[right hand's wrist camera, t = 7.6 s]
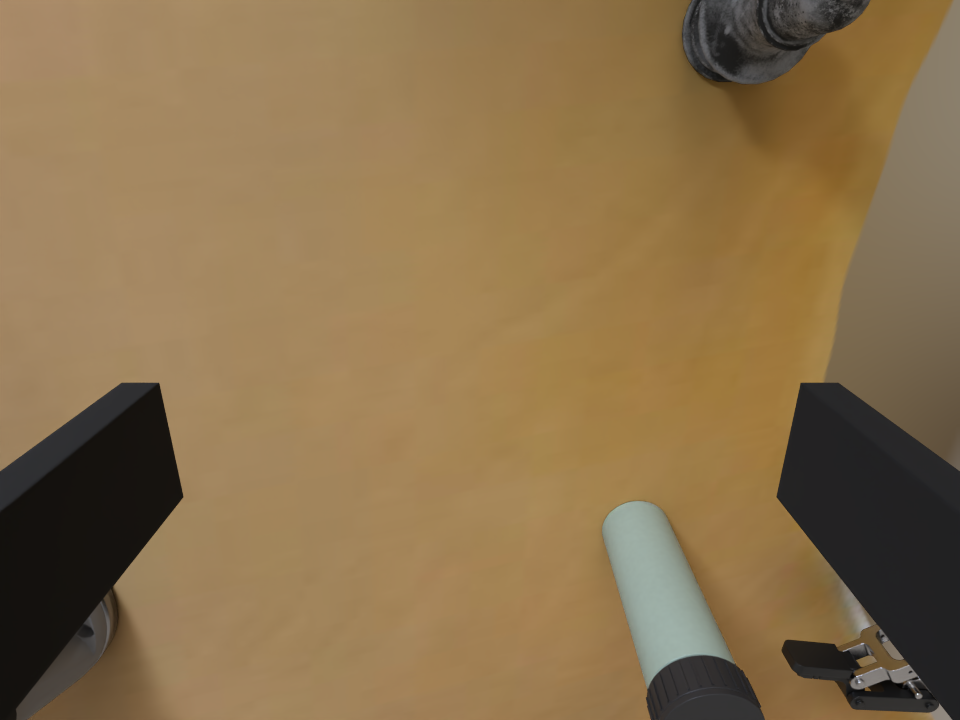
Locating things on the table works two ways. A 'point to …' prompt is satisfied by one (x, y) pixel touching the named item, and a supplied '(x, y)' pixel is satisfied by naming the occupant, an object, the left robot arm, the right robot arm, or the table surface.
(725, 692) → the lid
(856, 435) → the right robot arm
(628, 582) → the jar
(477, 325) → the table surface
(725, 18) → the dark grey turned figure
